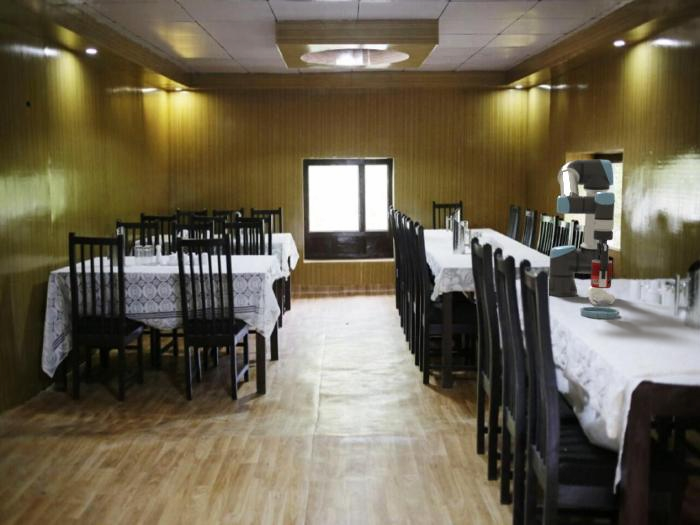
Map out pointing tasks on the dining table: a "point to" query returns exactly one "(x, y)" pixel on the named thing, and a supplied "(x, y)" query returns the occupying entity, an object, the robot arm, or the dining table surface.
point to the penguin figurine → (600, 295)
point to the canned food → (596, 272)
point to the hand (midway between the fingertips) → (600, 285)
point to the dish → (599, 312)
